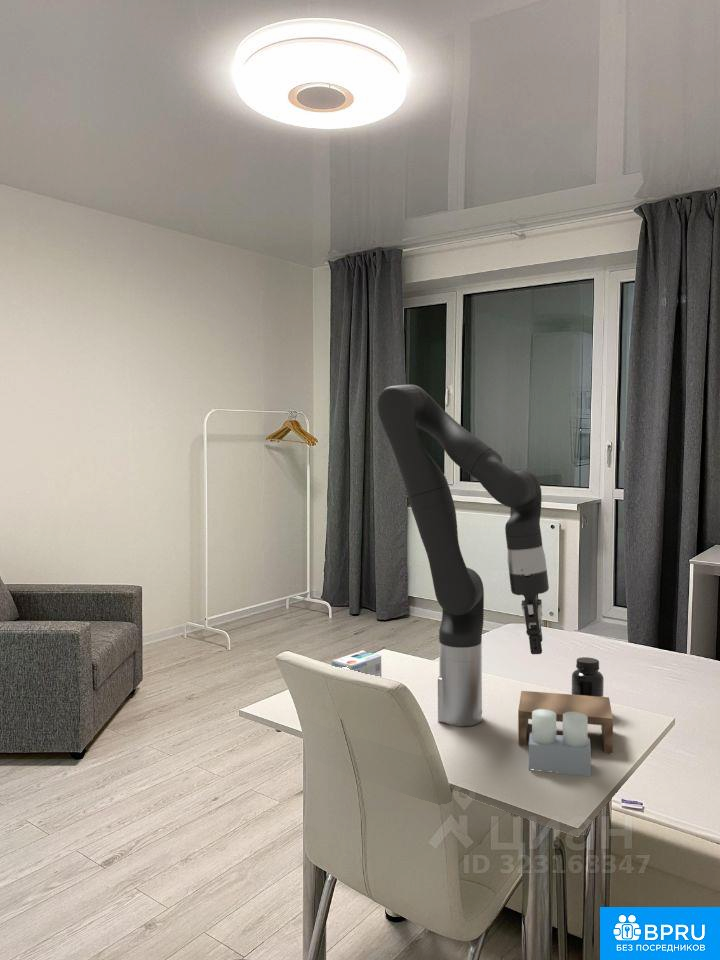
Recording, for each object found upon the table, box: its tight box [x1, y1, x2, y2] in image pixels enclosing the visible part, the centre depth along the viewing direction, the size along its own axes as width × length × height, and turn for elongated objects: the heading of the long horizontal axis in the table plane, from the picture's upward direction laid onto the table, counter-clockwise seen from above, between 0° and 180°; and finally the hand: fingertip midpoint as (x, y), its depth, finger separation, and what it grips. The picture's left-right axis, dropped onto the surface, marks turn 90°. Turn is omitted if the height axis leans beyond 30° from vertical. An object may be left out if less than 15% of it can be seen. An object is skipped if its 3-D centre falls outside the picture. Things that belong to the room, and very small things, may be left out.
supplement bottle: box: [571, 656, 605, 697], centre depth 164 cm, size 7×7×12 cm
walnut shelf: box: [517, 690, 614, 754], centre depth 151 cm, size 18×12×7 cm, turn 75°
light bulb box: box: [331, 650, 383, 677], centre depth 173 cm, size 11×7×11 cm, turn 136°
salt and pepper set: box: [528, 709, 592, 777], centre depth 138 cm, size 11×6×10 cm, turn 75°
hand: (537, 647), depth 150 cm, fingers open, 8 cm apart
